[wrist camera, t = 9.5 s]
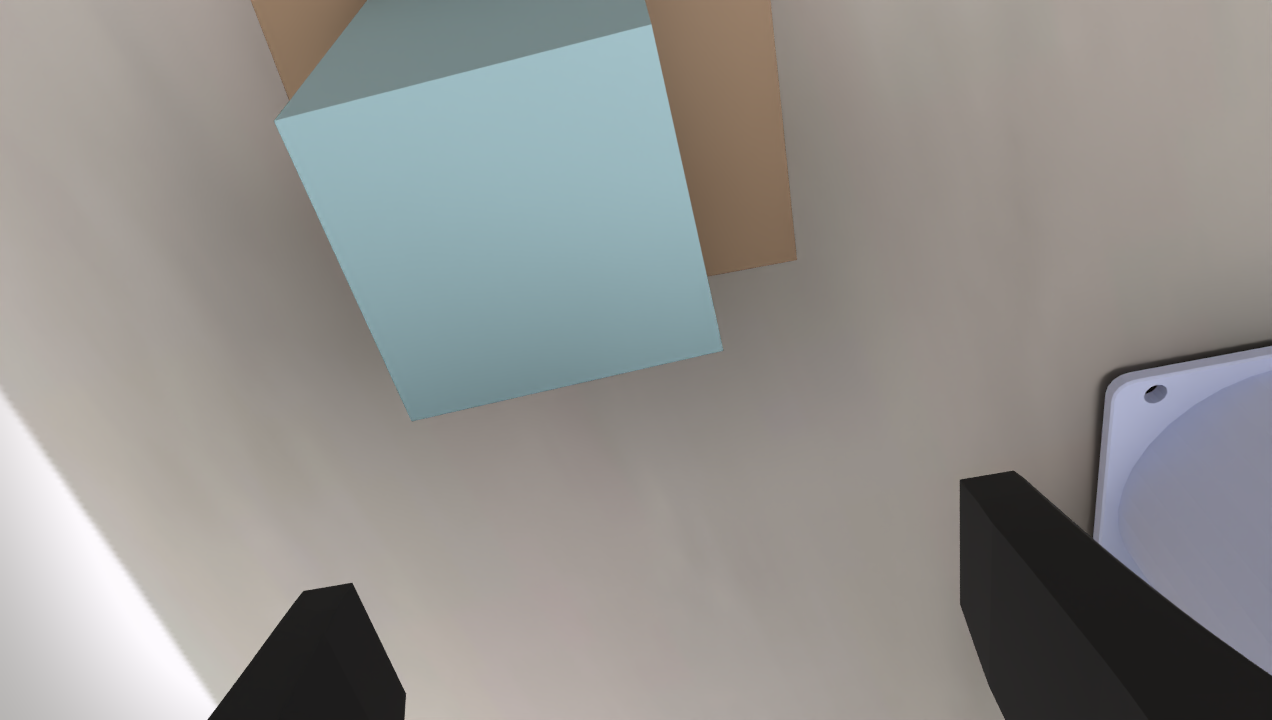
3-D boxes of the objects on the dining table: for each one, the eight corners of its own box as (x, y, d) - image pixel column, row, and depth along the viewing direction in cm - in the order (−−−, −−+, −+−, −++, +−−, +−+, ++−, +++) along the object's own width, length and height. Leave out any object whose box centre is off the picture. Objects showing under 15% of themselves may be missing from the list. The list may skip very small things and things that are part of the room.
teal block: (624, -75, 15) (652, 23, 10) (678, 166, 17) (723, 350, 12) (374, -9, 15) (274, 120, 10) (458, 220, 17) (411, 421, 12)
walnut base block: (719, -241, 16) (745, -239, 14) (769, 196, 20) (796, 259, 18) (260, -143, 17) (203, -122, 14) (404, 265, 21) (380, 336, 18)
